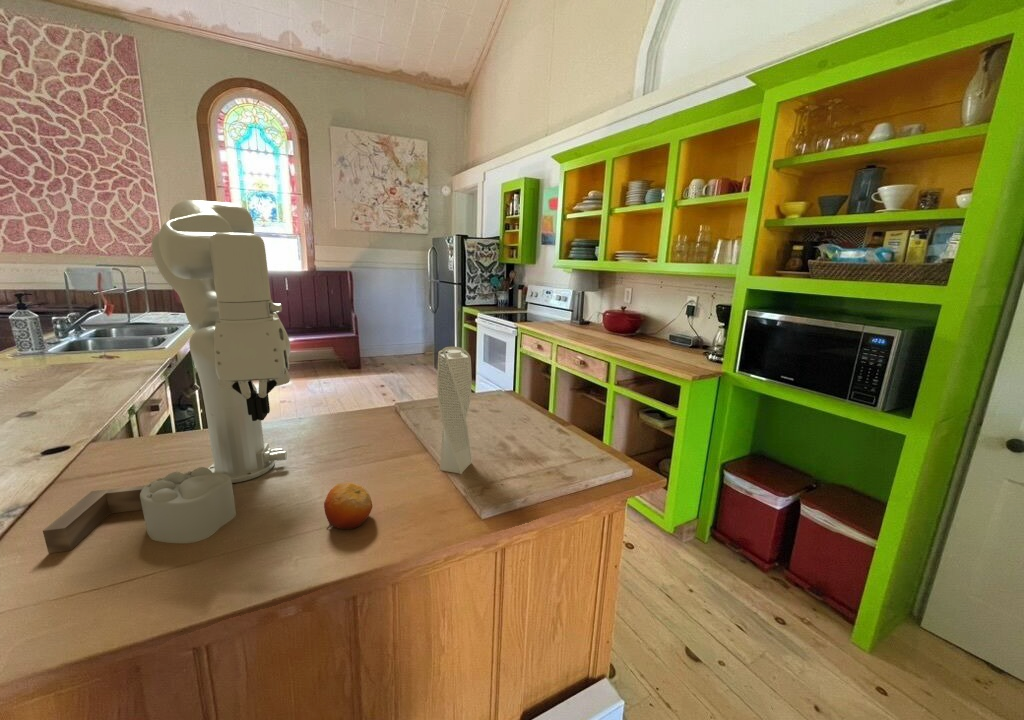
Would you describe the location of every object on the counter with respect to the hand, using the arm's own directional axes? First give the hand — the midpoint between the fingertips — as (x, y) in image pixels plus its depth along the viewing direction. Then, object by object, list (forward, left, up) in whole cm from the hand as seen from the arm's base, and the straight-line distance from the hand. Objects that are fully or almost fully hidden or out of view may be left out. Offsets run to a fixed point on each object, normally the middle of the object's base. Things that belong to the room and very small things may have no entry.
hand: (260, 417), depth 76 cm
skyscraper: (-35, -9, -18) cm, 40 cm away
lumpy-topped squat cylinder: (+13, 0, -19) cm, 23 cm away
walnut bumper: (+24, -2, -18) cm, 30 cm away
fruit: (-14, +7, -19) cm, 24 cm away
